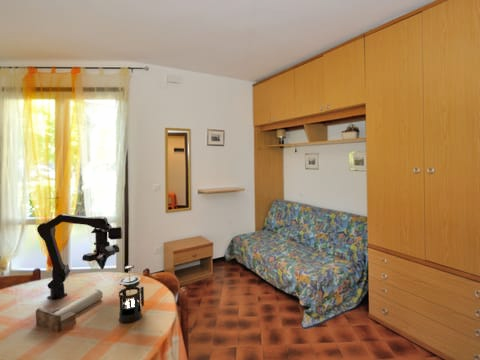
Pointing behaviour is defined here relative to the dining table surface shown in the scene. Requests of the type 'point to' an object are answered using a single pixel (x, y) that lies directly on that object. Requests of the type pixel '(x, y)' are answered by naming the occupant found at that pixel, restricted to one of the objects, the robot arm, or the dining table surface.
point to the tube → (81, 303)
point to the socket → (54, 319)
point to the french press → (130, 304)
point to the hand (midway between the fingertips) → (102, 268)
